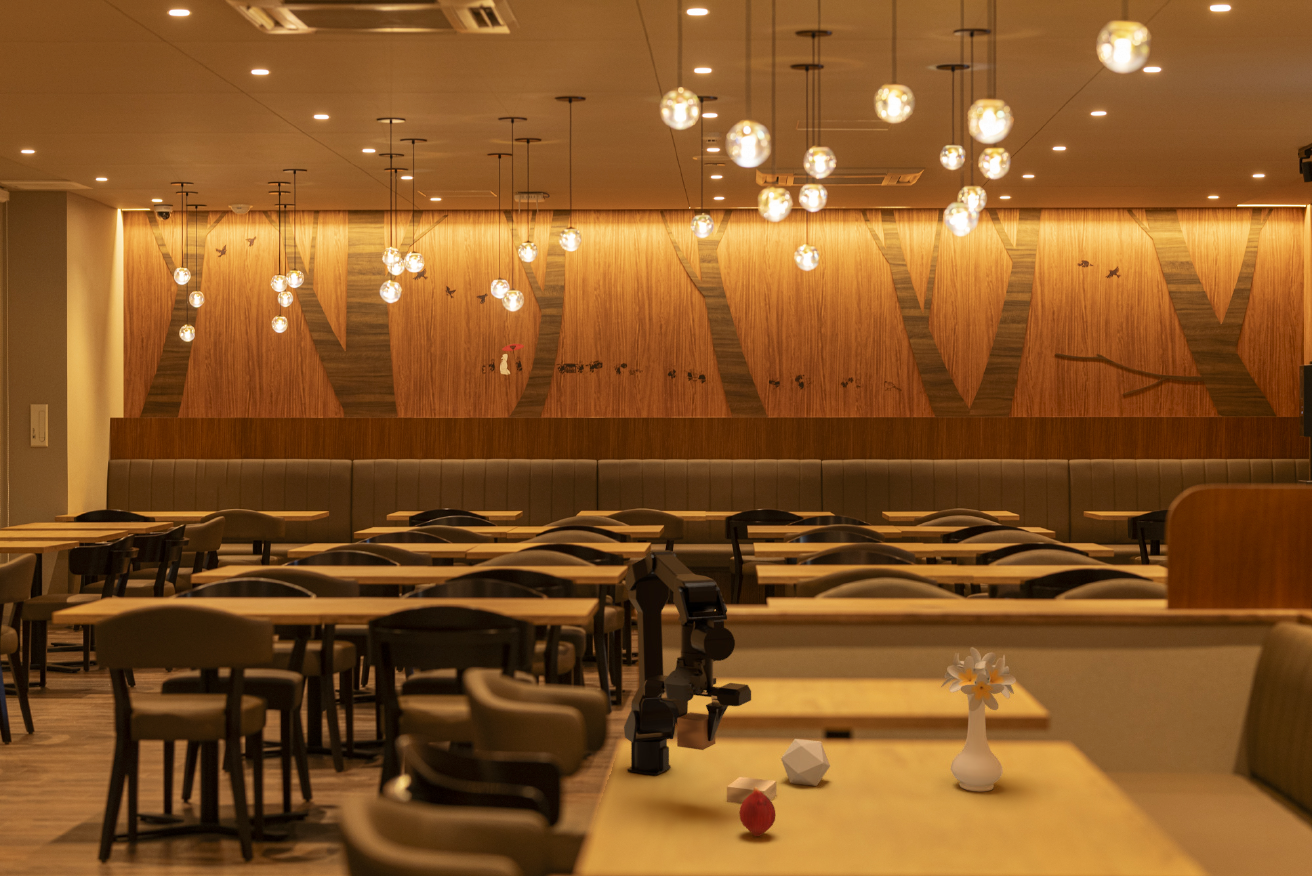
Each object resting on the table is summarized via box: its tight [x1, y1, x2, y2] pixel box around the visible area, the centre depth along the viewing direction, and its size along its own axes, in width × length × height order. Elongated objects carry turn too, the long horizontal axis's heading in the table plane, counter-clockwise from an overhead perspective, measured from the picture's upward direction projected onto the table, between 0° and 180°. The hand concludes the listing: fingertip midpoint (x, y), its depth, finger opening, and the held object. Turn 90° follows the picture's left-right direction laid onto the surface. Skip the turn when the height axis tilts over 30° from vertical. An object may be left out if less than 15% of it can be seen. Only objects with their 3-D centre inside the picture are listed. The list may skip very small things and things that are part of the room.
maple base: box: [726, 776, 778, 804], centre depth 232 cm, size 7×7×3 cm
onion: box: [738, 787, 777, 838], centre depth 211 cm, size 6×6×8 cm
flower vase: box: [940, 646, 1017, 793], centre depth 238 cm, size 13×18×25 cm
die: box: [780, 738, 831, 787], centre depth 242 cm, size 8×9×10 cm
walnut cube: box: [676, 712, 716, 751], centre depth 227 cm, size 5×5×5 cm
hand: (696, 739), depth 227 cm, fingers closed on walnut cube, 5 cm apart
